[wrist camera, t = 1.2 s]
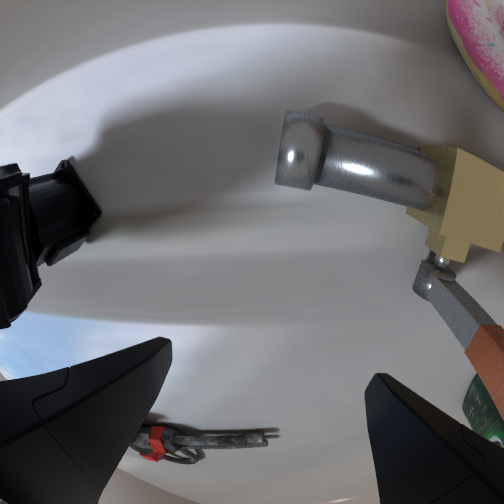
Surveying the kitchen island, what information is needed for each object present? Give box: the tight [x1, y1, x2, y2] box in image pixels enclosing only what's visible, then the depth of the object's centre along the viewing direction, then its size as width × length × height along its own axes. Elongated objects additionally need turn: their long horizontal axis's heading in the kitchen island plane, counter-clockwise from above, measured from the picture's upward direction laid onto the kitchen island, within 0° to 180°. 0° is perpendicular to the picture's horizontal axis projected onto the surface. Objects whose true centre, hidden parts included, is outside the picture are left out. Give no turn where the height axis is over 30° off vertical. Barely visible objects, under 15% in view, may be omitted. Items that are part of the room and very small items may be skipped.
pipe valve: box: [275, 110, 504, 269], centre depth 14 cm, size 18×8×5 cm, turn 82°
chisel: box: [412, 260, 504, 420], centre depth 11 cm, size 3×2×14 cm, turn 82°
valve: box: [129, 426, 268, 464], centre depth 30 cm, size 6×26×15 cm
